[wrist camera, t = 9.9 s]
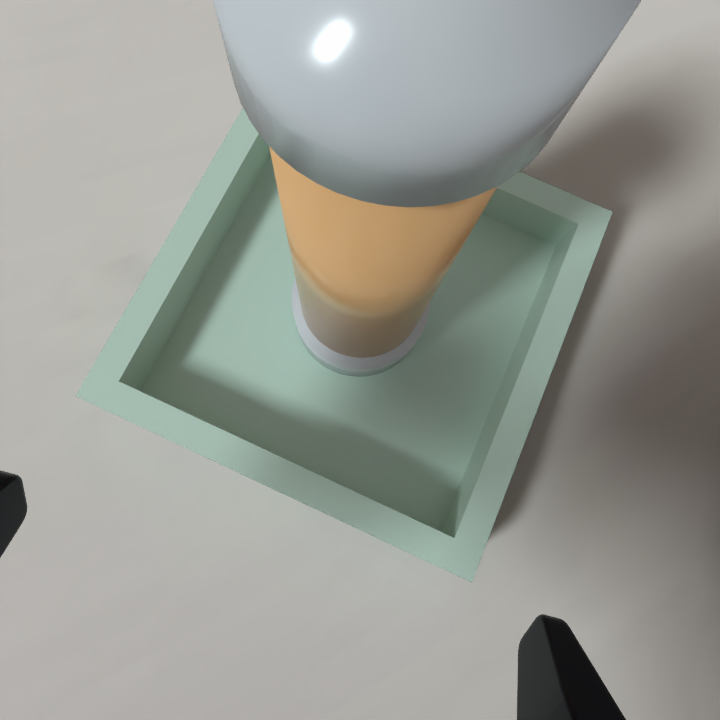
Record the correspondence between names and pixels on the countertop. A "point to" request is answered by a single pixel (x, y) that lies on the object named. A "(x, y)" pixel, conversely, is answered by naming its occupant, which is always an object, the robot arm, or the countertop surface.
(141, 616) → the countertop surface
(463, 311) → the parts tray
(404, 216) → the disc
